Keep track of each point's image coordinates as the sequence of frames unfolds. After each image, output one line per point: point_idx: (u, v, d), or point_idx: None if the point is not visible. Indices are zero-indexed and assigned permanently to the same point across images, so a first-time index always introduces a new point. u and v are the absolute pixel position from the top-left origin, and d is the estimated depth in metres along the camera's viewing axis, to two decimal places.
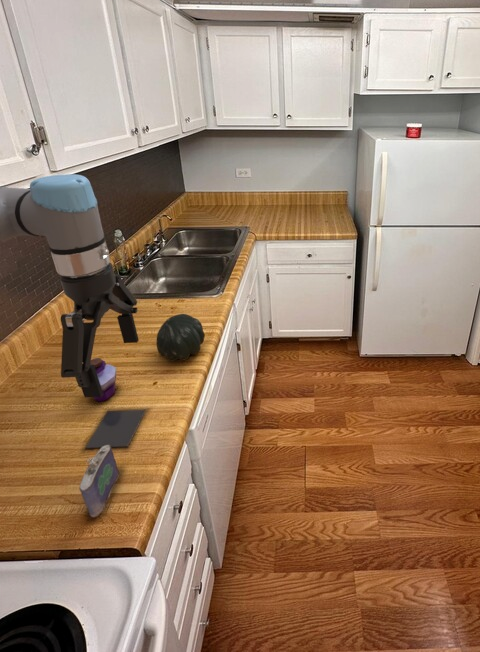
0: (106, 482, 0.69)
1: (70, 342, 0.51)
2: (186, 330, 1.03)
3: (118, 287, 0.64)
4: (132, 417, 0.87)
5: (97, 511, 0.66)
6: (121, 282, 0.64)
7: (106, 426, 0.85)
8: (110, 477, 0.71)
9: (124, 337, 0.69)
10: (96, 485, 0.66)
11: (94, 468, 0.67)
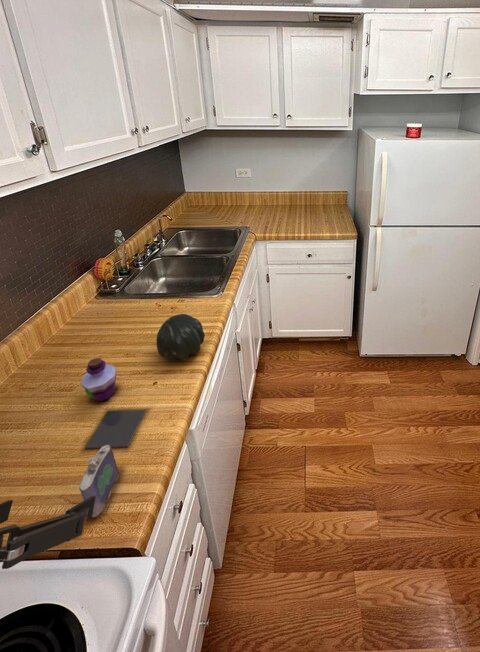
0: (106, 482, 0.69)
1: (44, 540, 0.44)
2: (186, 330, 1.03)
3: None
4: (132, 417, 0.87)
5: (97, 511, 0.66)
6: None
7: (106, 426, 0.85)
8: (110, 477, 0.71)
9: (0, 521, 0.53)
10: (96, 485, 0.66)
11: (94, 468, 0.67)
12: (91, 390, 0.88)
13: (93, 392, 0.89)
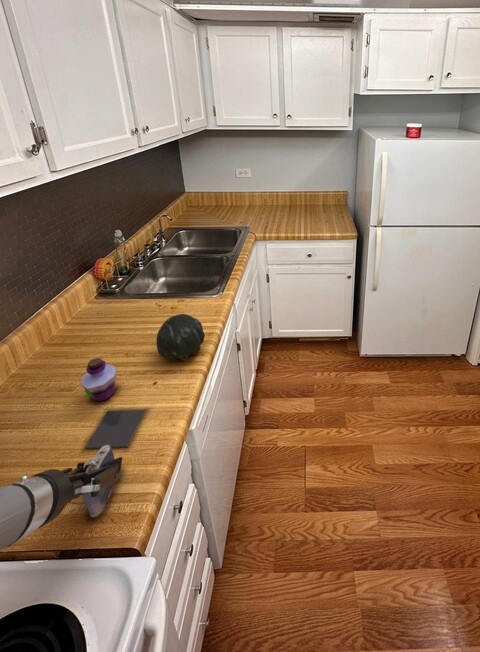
0: None
1: (105, 480, 0.62)
2: (186, 330, 1.03)
3: None
4: (132, 417, 0.87)
5: (97, 511, 0.66)
6: None
7: (106, 426, 0.85)
8: None
9: None
10: None
11: (94, 468, 0.67)
12: (91, 390, 0.88)
13: (93, 392, 0.89)
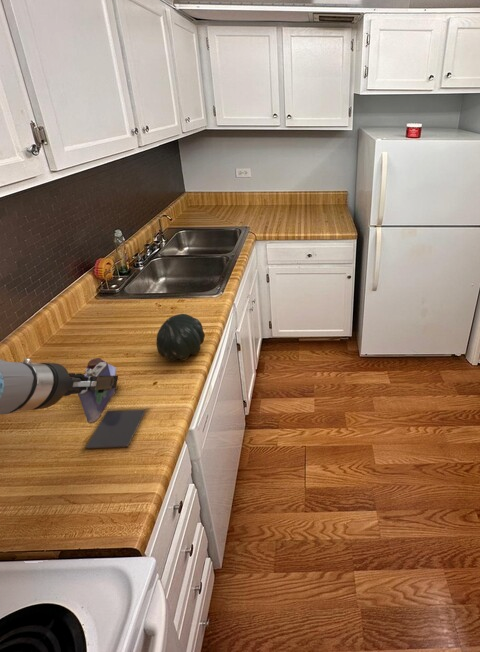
0: (102, 394, 0.75)
1: (101, 382, 0.67)
2: (186, 330, 1.03)
3: None
4: (132, 417, 0.87)
5: (94, 417, 0.71)
6: None
7: (106, 426, 0.85)
8: (106, 391, 0.76)
9: None
10: (93, 393, 0.71)
11: None
12: None
13: None
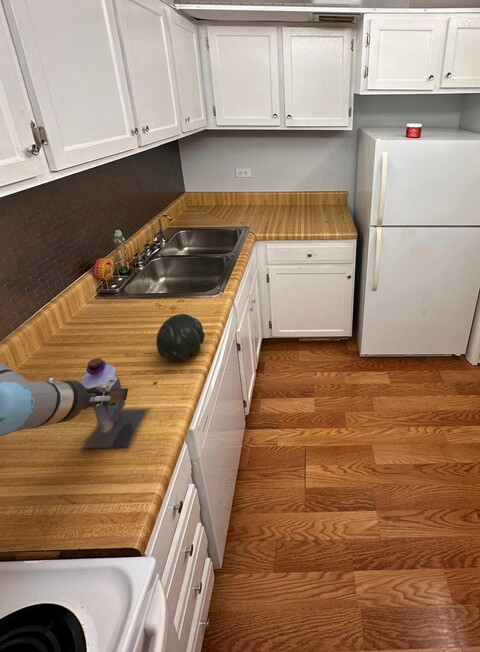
0: (114, 406, 0.82)
1: (114, 396, 0.74)
2: (186, 330, 1.03)
3: None
4: (132, 417, 0.87)
5: (107, 428, 0.78)
6: None
7: None
8: (117, 403, 0.83)
9: None
10: (106, 405, 0.78)
11: None
12: None
13: None
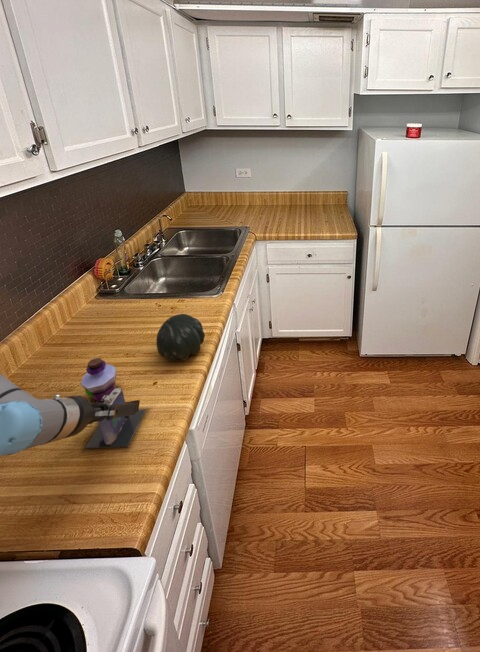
0: None
1: (122, 410, 0.75)
2: (186, 330, 1.03)
3: None
4: (132, 417, 0.87)
5: (111, 439, 0.80)
6: None
7: None
8: None
9: None
10: None
11: (108, 404, 0.80)
12: (91, 390, 0.88)
13: (93, 392, 0.89)
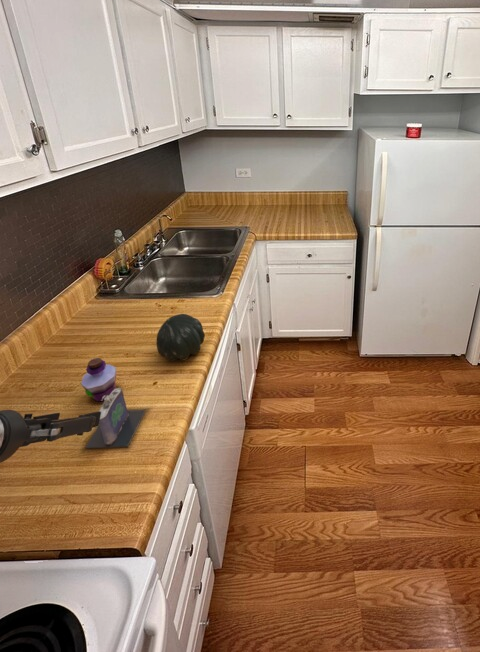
0: (117, 417, 0.83)
1: (71, 427, 0.58)
2: (186, 330, 1.03)
3: None
4: (132, 417, 0.87)
5: (111, 439, 0.80)
6: None
7: None
8: (121, 414, 0.84)
9: None
10: (110, 418, 0.79)
11: (108, 404, 0.80)
12: (91, 390, 0.88)
13: (93, 392, 0.89)
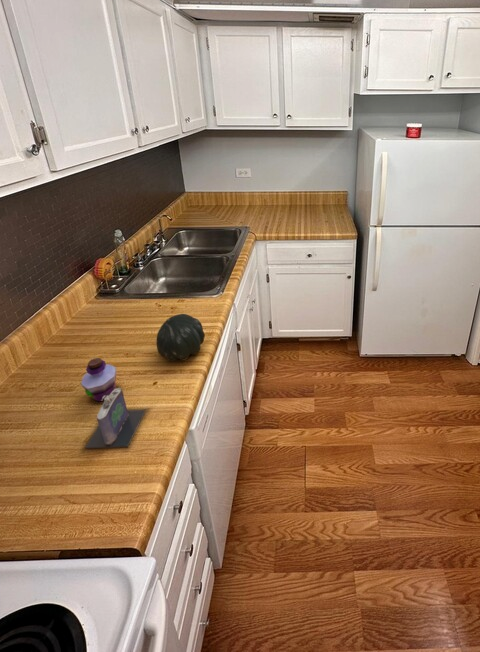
0: (117, 417, 0.83)
1: None
2: (186, 330, 1.03)
3: None
4: (132, 417, 0.87)
5: (111, 439, 0.80)
6: None
7: None
8: (121, 414, 0.84)
9: None
10: (110, 418, 0.79)
11: (108, 404, 0.80)
12: (91, 390, 0.88)
13: (93, 392, 0.89)
